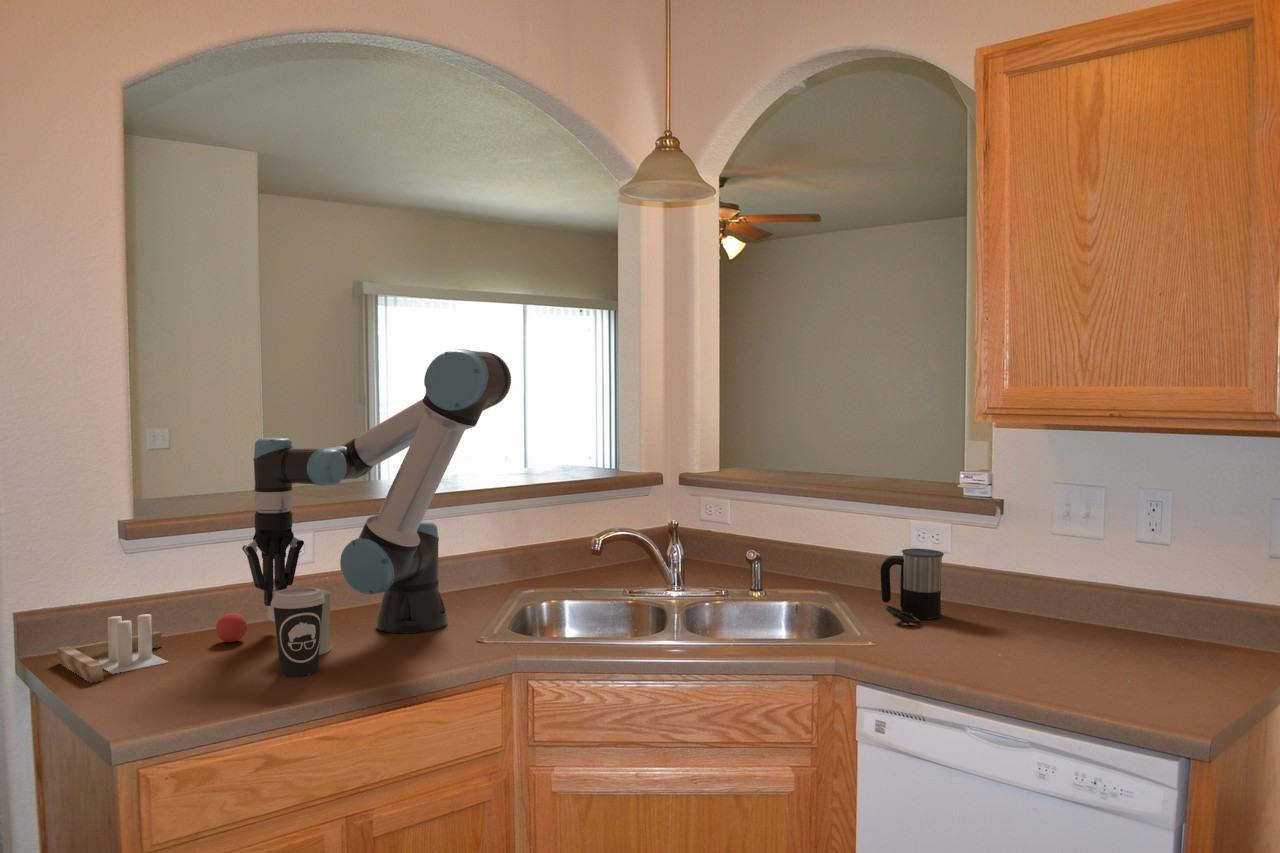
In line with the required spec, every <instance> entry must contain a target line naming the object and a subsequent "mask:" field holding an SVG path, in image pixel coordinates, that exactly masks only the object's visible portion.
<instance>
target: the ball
mask: <svg viewBox="0 0 1280 853" xmlns="http://www.w3.org/2000/svg"><path fill="white" fill-rule="evenodd" d="M247 631H248V622H247V620H246V618H245V617H244V616H243V615H241V614H240V613H236V612H228V613H225V614H224V615H222V616H220V617H219V619H218V620H217V623H216V626H215V632H216V635H217V637H218V638H219V639H220V640H221V641H222V642H225V643H236V642H238V641H240V640H241V639H243V638H244V636H245V635H246V633H247Z"/></svg>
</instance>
